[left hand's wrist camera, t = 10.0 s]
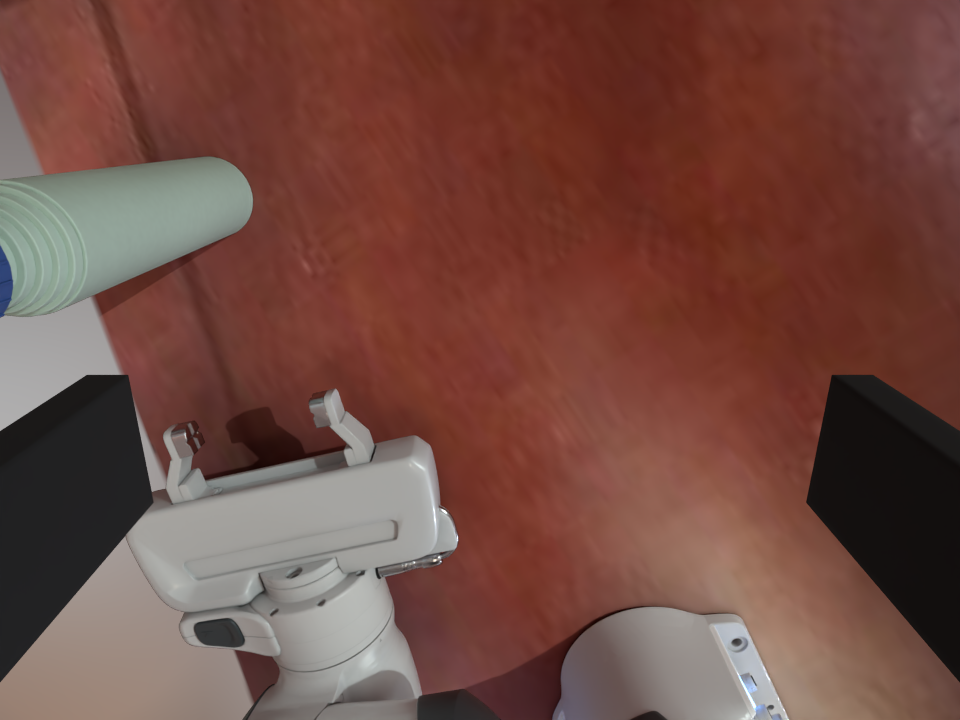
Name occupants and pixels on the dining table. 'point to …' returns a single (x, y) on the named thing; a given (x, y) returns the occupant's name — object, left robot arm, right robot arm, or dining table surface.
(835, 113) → the dining table surface
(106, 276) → the bottle
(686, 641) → the right robot arm
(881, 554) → the left robot arm
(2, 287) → the cap
